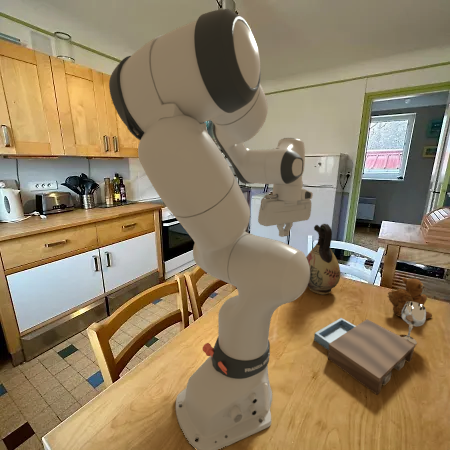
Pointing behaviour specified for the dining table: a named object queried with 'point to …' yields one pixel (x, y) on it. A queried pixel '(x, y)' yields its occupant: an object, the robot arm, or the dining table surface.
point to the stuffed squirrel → (408, 296)
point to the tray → (332, 332)
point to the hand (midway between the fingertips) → (283, 236)
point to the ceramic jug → (323, 263)
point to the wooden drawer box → (370, 354)
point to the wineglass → (413, 317)
